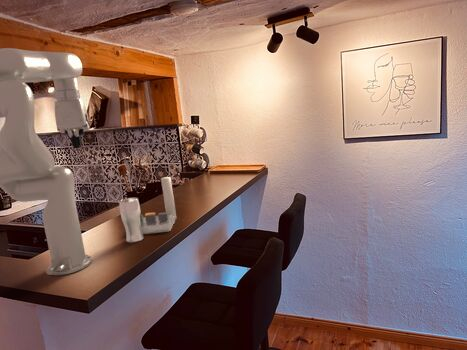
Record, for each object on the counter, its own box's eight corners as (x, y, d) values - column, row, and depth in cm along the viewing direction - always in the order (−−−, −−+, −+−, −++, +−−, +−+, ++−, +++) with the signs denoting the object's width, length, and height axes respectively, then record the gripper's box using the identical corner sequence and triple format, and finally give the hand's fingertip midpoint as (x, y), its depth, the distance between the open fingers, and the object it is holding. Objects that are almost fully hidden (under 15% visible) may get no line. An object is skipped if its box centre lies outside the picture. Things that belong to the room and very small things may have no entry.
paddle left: (142, 222, 133) (141, 216, 133) (133, 223, 133) (132, 217, 133) (143, 220, 135) (142, 214, 135) (134, 221, 135) (133, 215, 135)
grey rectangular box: (167, 219, 133) (166, 213, 133) (158, 220, 133) (157, 214, 133) (168, 218, 135) (167, 212, 135) (159, 219, 135) (158, 213, 135)
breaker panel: (169, 231, 129) (168, 223, 129) (128, 235, 129) (127, 227, 129) (175, 221, 141) (174, 214, 140) (136, 225, 141) (135, 217, 141)
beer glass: (138, 234, 129) (132, 196, 127) (148, 238, 124) (142, 198, 122) (121, 240, 125) (115, 201, 122) (130, 244, 120) (124, 203, 117)
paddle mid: (155, 221, 133) (154, 213, 133) (146, 221, 133) (144, 214, 133) (156, 219, 135) (155, 212, 135) (147, 220, 135) (146, 213, 135)
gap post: (175, 219, 143) (169, 178, 140) (166, 220, 143) (160, 179, 140) (177, 217, 147) (171, 176, 144) (168, 218, 147) (162, 177, 144)
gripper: (41, 98, 116) (52, 151, 120) (84, 93, 116) (94, 146, 120) (53, 98, 124) (62, 148, 127) (93, 94, 124) (102, 144, 127)
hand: (77, 147), depth 123 cm, fingers closed
